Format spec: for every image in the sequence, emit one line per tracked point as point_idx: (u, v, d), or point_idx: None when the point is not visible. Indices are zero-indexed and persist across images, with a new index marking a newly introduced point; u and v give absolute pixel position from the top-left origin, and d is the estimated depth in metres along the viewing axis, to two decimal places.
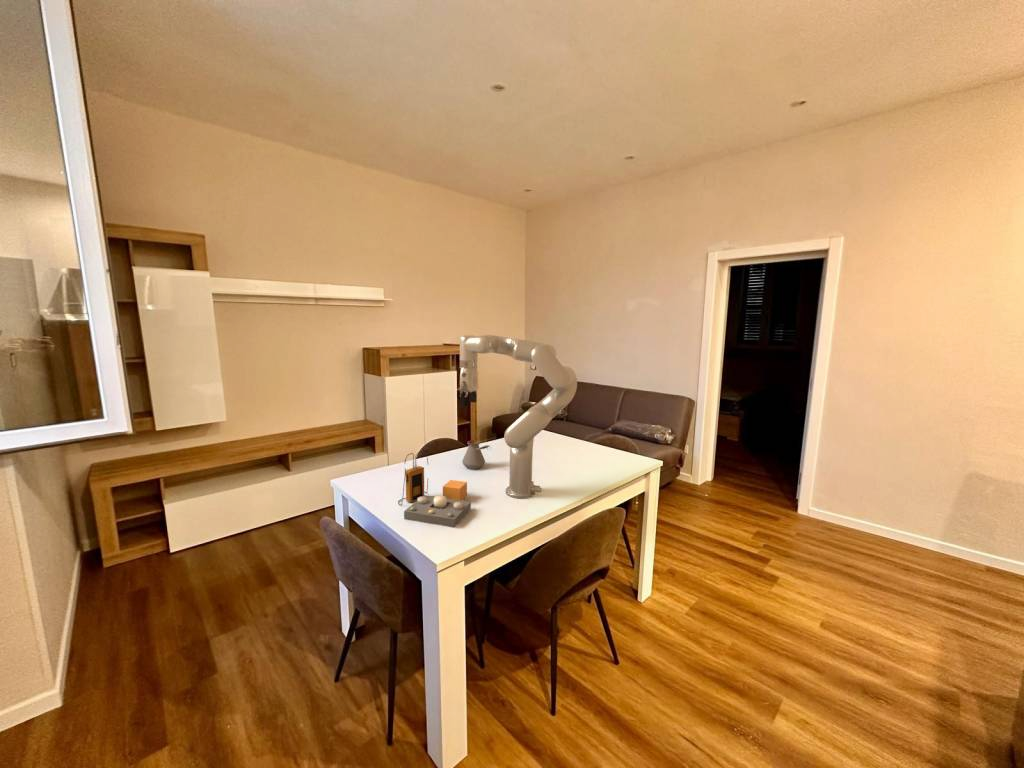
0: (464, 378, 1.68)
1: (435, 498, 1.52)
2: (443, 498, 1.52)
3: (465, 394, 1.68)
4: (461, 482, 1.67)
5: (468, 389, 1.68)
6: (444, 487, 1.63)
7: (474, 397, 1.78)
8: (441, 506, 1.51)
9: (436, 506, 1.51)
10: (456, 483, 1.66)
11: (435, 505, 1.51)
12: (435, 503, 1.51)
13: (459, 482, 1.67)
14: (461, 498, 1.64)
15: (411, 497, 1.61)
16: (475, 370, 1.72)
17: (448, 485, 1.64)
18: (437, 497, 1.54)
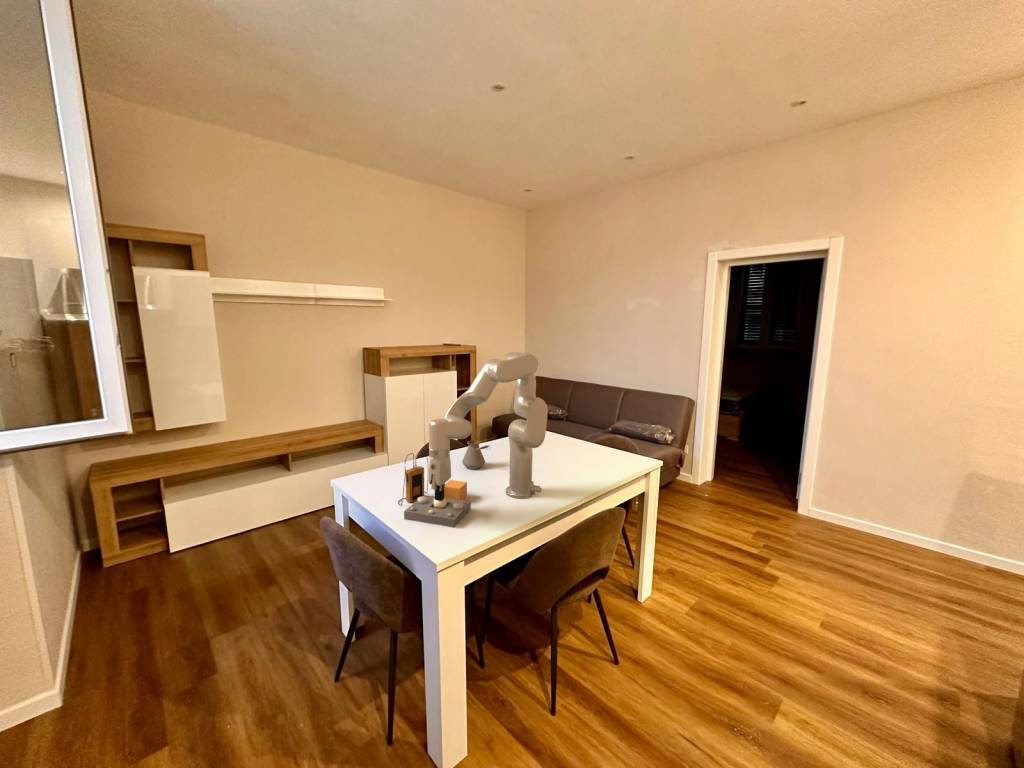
0: (433, 470, 1.46)
1: None
2: None
3: (439, 489, 1.50)
4: (461, 482, 1.67)
5: (438, 483, 1.46)
6: None
7: None
8: (441, 507, 1.51)
9: (436, 507, 1.51)
10: (456, 483, 1.66)
11: (435, 506, 1.51)
12: (435, 504, 1.51)
13: (459, 482, 1.67)
14: (461, 498, 1.64)
15: (411, 497, 1.61)
16: (447, 459, 1.51)
17: (448, 485, 1.64)
18: None
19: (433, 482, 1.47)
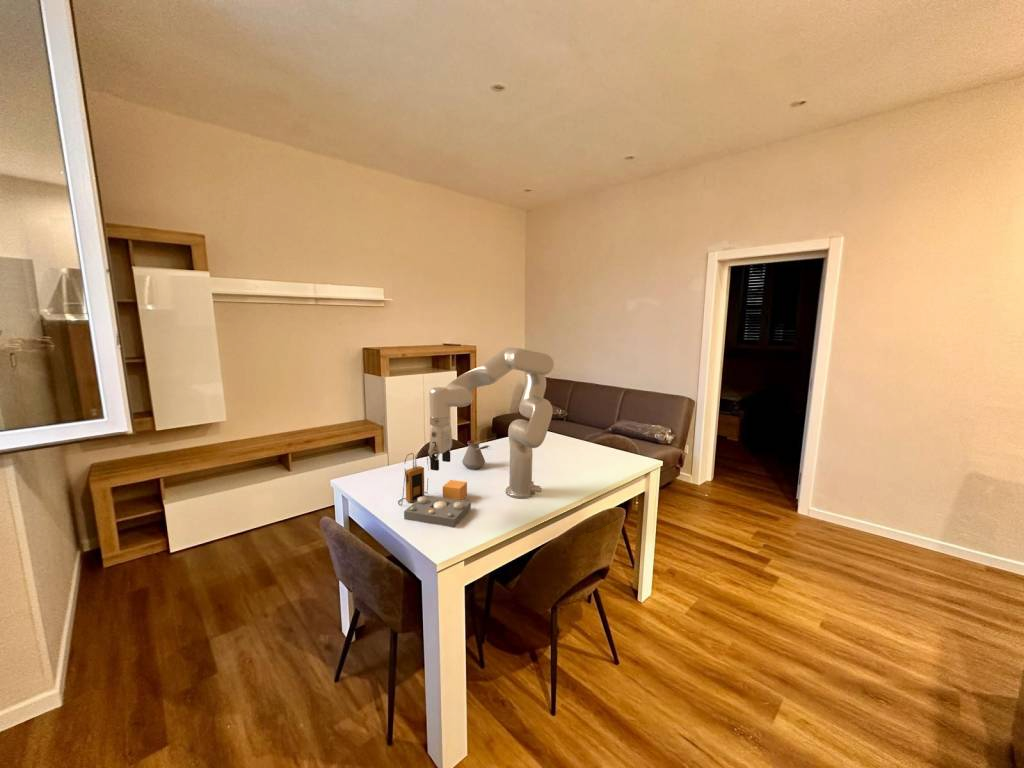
0: (434, 438, 1.45)
1: (435, 504, 1.52)
2: (443, 504, 1.53)
3: (435, 457, 1.45)
4: (461, 482, 1.67)
5: (439, 451, 1.45)
6: (444, 487, 1.63)
7: (448, 456, 1.55)
8: None
9: None
10: (456, 483, 1.66)
11: None
12: None
13: (459, 482, 1.67)
14: (461, 498, 1.64)
15: (411, 497, 1.61)
16: (448, 427, 1.50)
17: (448, 485, 1.64)
18: (437, 502, 1.54)
19: (434, 450, 1.46)
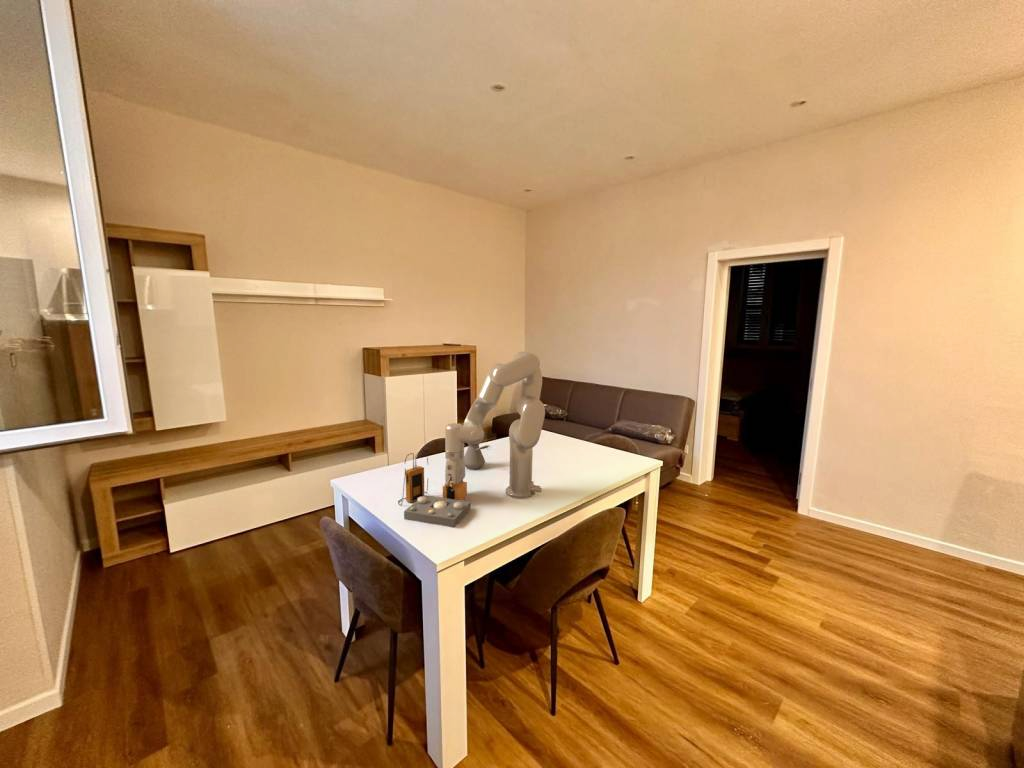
0: (450, 471, 1.59)
1: (435, 504, 1.52)
2: (443, 504, 1.53)
3: (451, 488, 1.60)
4: (461, 482, 1.67)
5: (454, 482, 1.60)
6: (444, 487, 1.63)
7: None
8: None
9: None
10: None
11: None
12: None
13: (459, 482, 1.67)
14: (461, 498, 1.64)
15: (411, 497, 1.61)
16: (462, 460, 1.64)
17: None
18: (437, 502, 1.54)
19: (449, 481, 1.60)
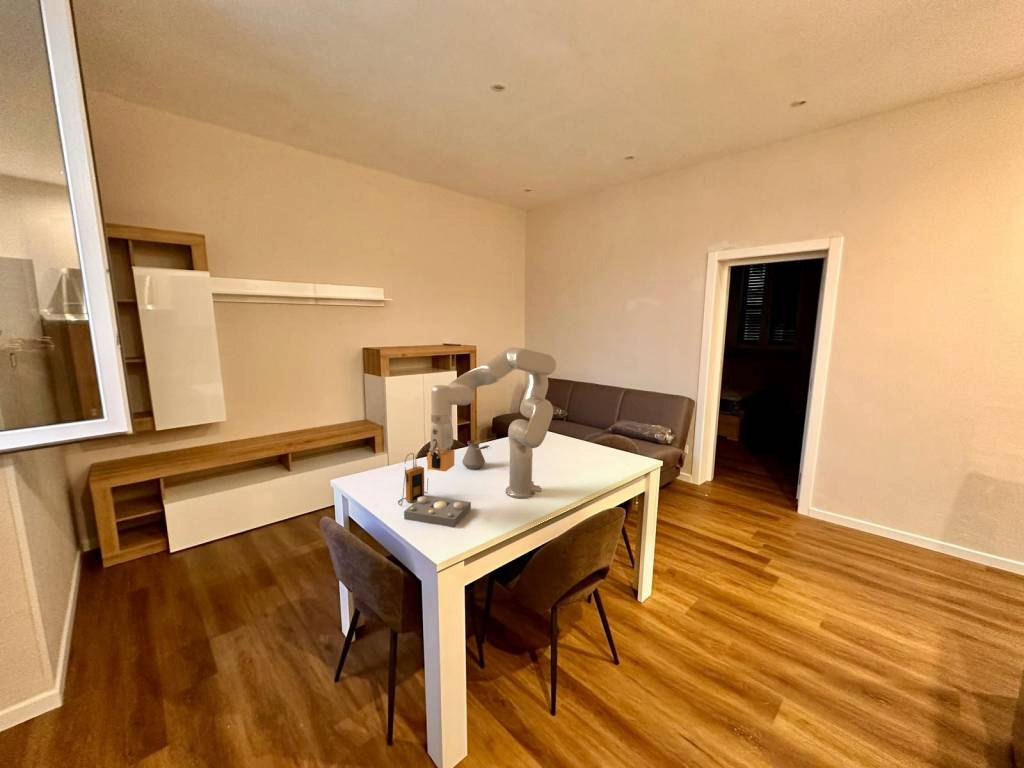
0: (435, 435, 1.46)
1: (435, 504, 1.52)
2: (443, 504, 1.53)
3: (437, 455, 1.47)
4: (448, 450, 1.54)
5: (439, 448, 1.46)
6: (429, 454, 1.49)
7: None
8: None
9: None
10: (442, 451, 1.52)
11: None
12: None
13: (446, 450, 1.54)
14: (448, 467, 1.50)
15: (411, 497, 1.61)
16: (449, 425, 1.51)
17: None
18: (437, 502, 1.54)
19: (435, 447, 1.47)
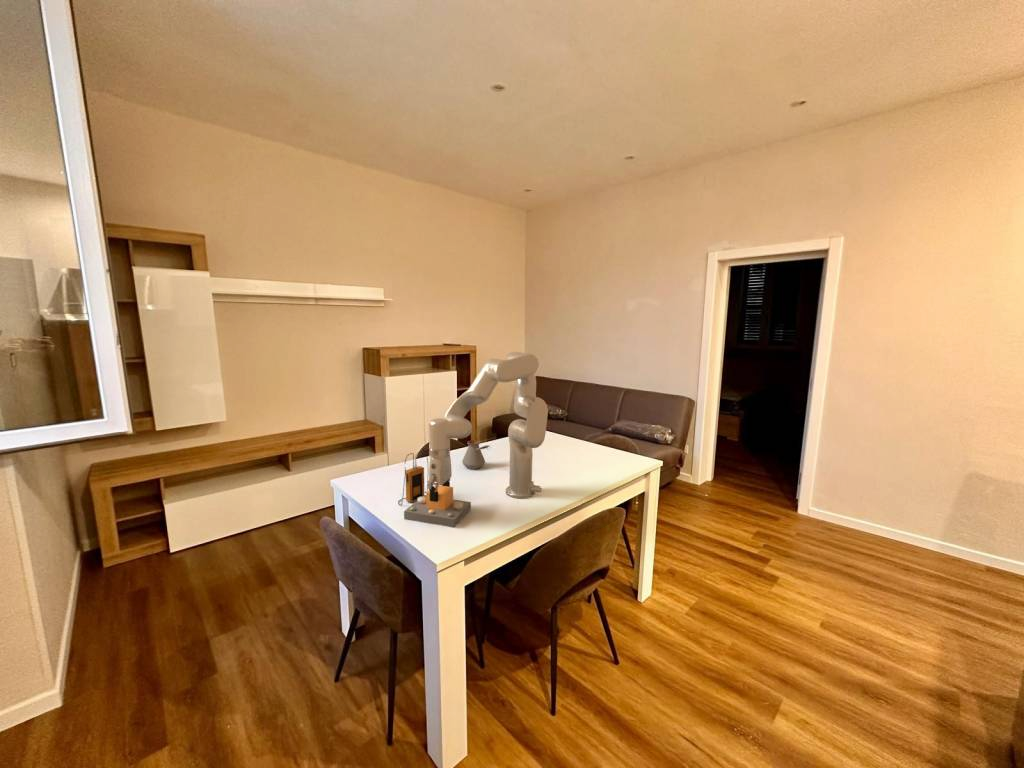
0: (434, 470, 1.46)
1: None
2: None
3: (435, 488, 1.46)
4: (447, 487, 1.54)
5: (438, 483, 1.46)
6: (428, 493, 1.49)
7: None
8: None
9: None
10: (441, 489, 1.52)
11: None
12: None
13: (445, 487, 1.54)
14: (447, 505, 1.50)
15: (411, 497, 1.61)
16: (447, 458, 1.51)
17: None
18: None
19: (433, 482, 1.47)
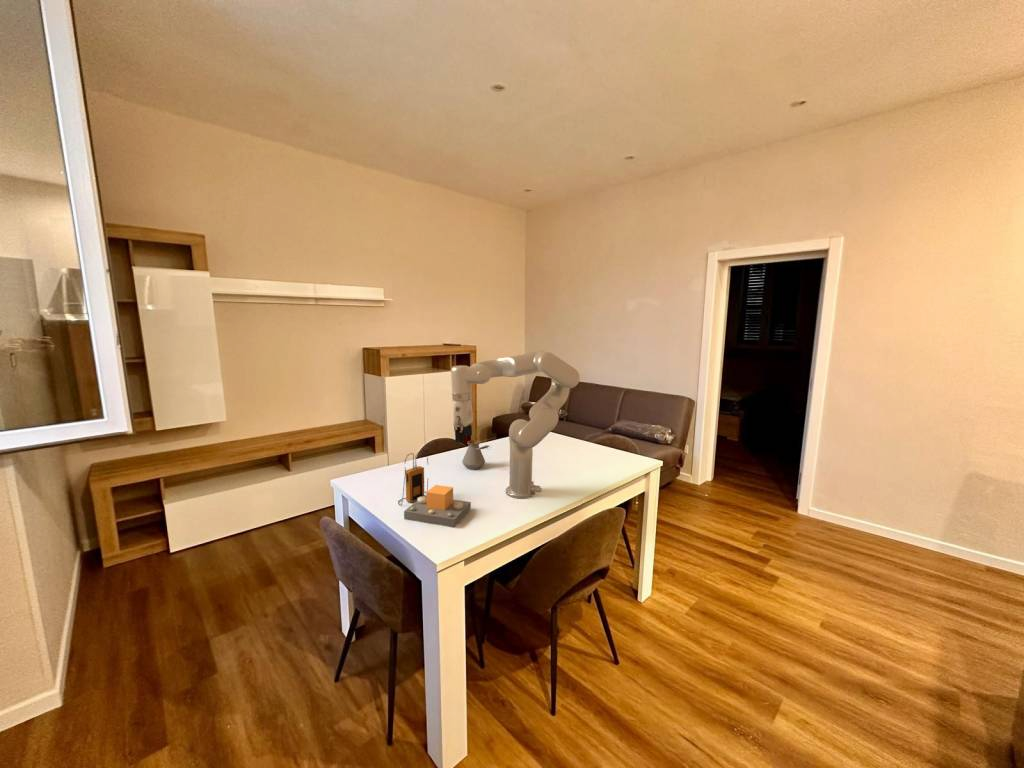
0: (458, 412, 1.56)
1: None
2: None
3: (460, 429, 1.56)
4: (447, 487, 1.54)
5: (463, 424, 1.57)
6: (428, 493, 1.49)
7: (469, 430, 1.67)
8: None
9: None
10: (441, 489, 1.52)
11: None
12: None
13: (445, 487, 1.54)
14: (447, 505, 1.50)
15: (411, 497, 1.61)
16: (469, 402, 1.61)
17: (432, 491, 1.50)
18: None
19: None
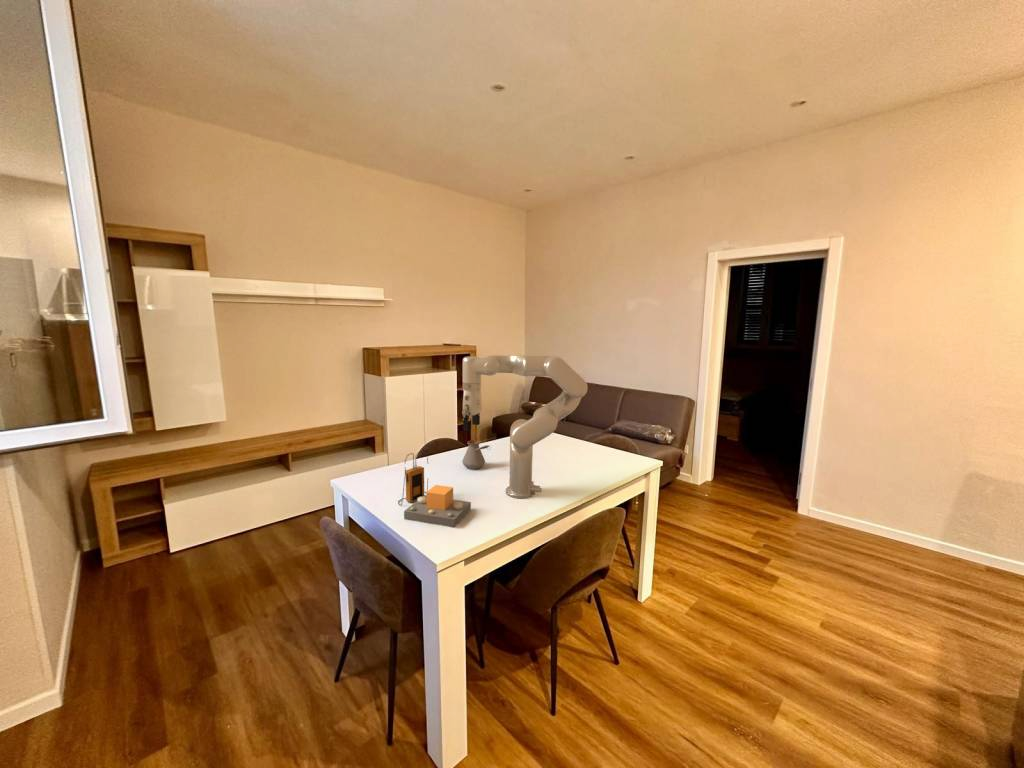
0: (467, 401, 1.62)
1: None
2: None
3: (468, 418, 1.62)
4: (447, 487, 1.54)
5: (471, 413, 1.62)
6: (428, 493, 1.49)
7: (477, 419, 1.72)
8: None
9: None
10: (441, 489, 1.52)
11: None
12: None
13: (445, 487, 1.54)
14: (447, 505, 1.50)
15: (411, 497, 1.61)
16: (478, 392, 1.67)
17: (432, 491, 1.50)
18: None
19: (467, 412, 1.63)
